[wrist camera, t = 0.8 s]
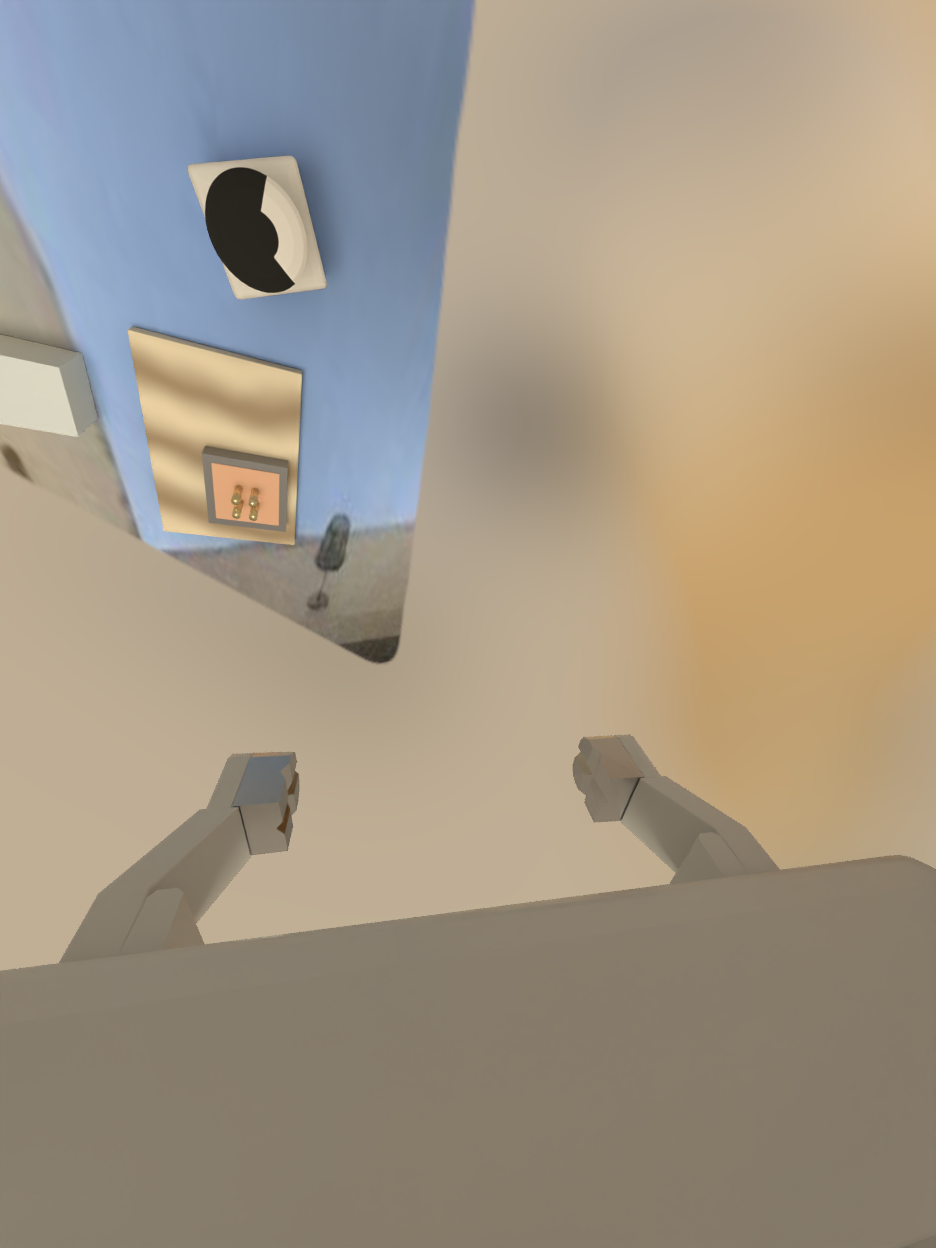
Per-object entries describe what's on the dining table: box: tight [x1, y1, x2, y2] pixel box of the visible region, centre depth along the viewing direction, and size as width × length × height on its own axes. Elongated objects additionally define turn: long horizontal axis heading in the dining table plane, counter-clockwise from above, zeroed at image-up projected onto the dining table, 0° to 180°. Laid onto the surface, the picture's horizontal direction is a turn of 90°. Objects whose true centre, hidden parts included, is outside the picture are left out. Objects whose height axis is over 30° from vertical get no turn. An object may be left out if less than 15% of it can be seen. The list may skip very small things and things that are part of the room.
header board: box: [128, 327, 302, 545], centre depth 44 cm, size 20×14×7 cm
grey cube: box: [0, 334, 98, 437], centre depth 36 cm, size 6×6×5 cm
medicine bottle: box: [188, 155, 327, 299], centre depth 31 cm, size 7×7×12 cm
